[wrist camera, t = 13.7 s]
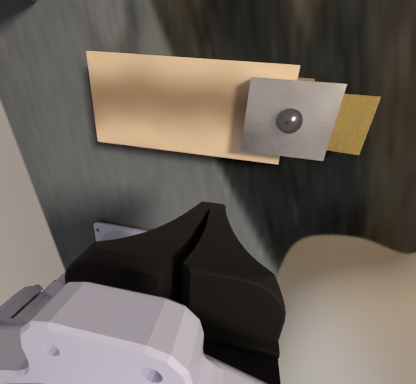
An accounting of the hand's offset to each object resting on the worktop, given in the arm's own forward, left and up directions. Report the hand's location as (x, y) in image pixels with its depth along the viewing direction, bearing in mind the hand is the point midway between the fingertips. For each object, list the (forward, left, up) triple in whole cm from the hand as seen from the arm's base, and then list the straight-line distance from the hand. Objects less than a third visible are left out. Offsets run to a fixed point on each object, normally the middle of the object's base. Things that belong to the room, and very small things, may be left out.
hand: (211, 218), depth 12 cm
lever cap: (+5, -4, -7) cm, 10 cm away
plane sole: (+5, +4, -10) cm, 12 cm away
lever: (+5, -5, -9) cm, 11 cm away
